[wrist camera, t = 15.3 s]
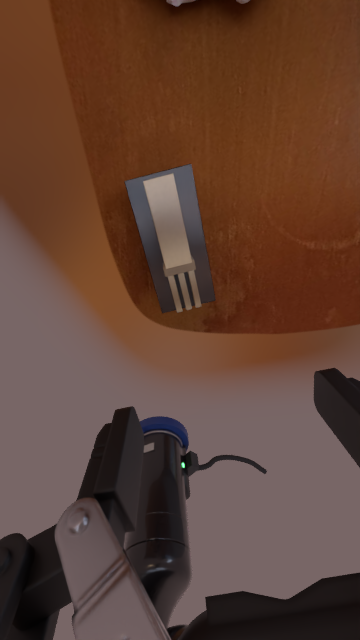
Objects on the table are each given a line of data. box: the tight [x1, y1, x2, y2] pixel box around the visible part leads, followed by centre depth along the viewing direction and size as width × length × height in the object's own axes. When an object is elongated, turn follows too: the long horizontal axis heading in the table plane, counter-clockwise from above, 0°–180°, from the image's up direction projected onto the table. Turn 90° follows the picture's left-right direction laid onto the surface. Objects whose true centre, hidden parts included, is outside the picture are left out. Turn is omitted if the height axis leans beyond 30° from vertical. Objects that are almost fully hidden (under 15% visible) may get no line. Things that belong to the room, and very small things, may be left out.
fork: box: [143, 173, 201, 312], centre depth 23 cm, size 12×3×3 cm, turn 13°
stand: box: [124, 164, 215, 313], centre depth 27 cm, size 13×6×7 cm, turn 13°
